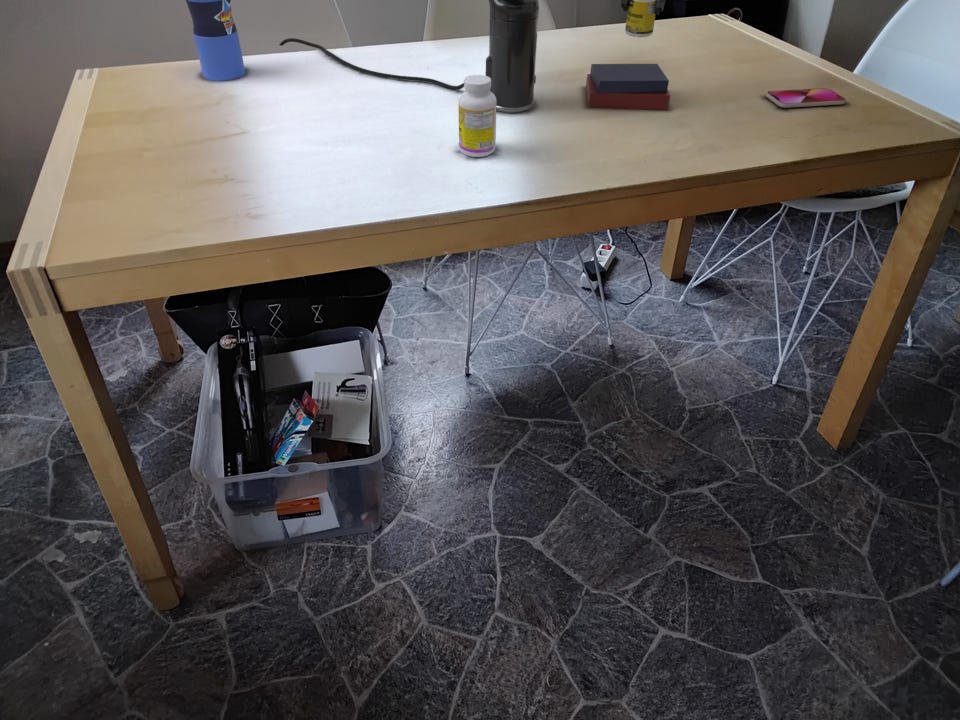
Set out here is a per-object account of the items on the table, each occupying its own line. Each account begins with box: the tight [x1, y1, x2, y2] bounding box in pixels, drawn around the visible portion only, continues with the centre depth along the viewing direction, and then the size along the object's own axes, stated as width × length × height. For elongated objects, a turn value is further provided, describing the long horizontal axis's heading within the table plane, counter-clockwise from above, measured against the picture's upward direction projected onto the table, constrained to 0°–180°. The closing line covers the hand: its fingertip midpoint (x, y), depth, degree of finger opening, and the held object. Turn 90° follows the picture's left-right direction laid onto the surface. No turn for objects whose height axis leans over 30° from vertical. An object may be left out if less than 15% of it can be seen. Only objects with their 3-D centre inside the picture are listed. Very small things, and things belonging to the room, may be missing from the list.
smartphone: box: [765, 87, 847, 109], centre depth 152 cm, size 7×1×15 cm
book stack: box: [585, 63, 671, 111], centre depth 150 cm, size 16×11×6 cm
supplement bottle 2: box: [624, 0, 657, 38], centre depth 139 cm, size 5×5×10 cm
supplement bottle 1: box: [458, 74, 497, 158], centre depth 128 cm, size 7×7×13 cm
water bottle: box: [185, 0, 246, 82], centre depth 152 cm, size 9×9×25 cm
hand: (640, 10), depth 138 cm, fingers closed on supplement bottle 2, 5 cm apart
